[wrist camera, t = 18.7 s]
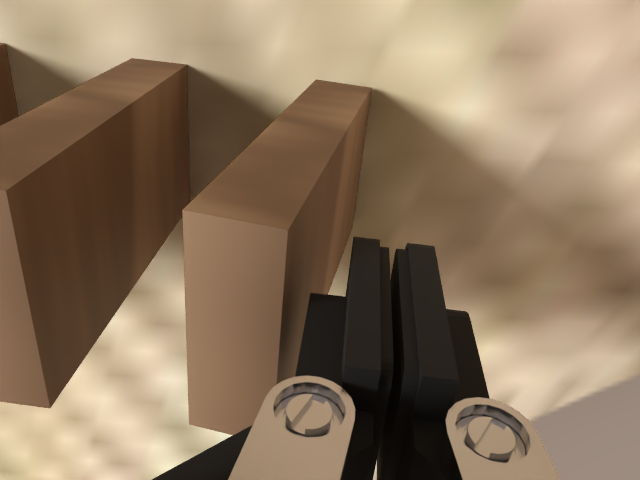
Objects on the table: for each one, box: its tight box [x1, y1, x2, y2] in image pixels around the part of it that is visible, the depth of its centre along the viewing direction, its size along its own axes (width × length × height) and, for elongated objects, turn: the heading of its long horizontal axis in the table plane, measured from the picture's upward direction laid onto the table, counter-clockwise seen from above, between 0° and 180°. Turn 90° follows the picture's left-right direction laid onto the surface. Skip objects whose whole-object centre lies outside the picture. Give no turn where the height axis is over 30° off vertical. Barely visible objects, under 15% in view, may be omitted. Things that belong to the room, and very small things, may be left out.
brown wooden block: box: [182, 80, 372, 435], centre depth 15 cm, size 2×5×10 cm, turn 175°
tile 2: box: [0, 58, 190, 408], centre depth 15 cm, size 2×5×10 cm, turn 174°
